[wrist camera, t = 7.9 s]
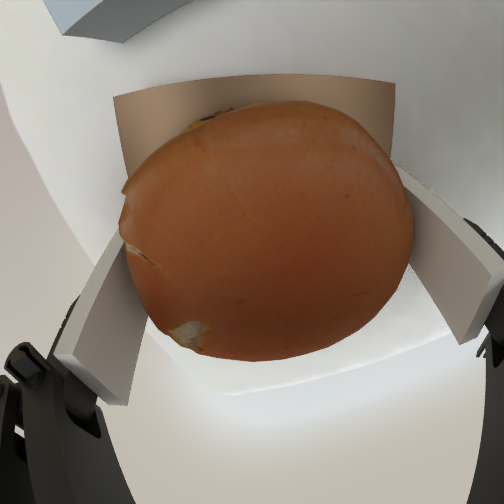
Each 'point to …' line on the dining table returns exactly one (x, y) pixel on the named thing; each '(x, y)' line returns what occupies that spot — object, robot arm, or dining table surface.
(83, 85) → the dining table surface
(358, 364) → the dining table surface
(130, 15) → the slate cube
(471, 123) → the dining table surface
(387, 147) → the walnut block
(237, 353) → the burger
